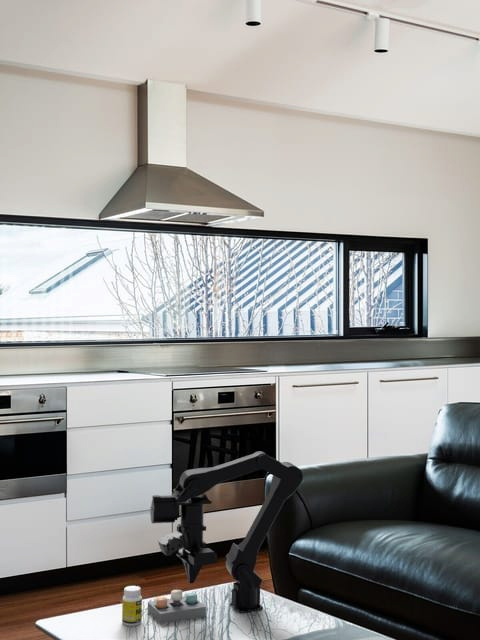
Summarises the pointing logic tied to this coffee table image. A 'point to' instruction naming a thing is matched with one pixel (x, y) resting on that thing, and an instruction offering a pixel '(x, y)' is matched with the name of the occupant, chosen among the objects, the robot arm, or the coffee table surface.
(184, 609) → the panel
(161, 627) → the coffee table surface
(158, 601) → the peach orange egg
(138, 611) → the supplement bottle
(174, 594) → the cream white egg
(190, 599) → the light blue egg
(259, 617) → the coffee table surface
